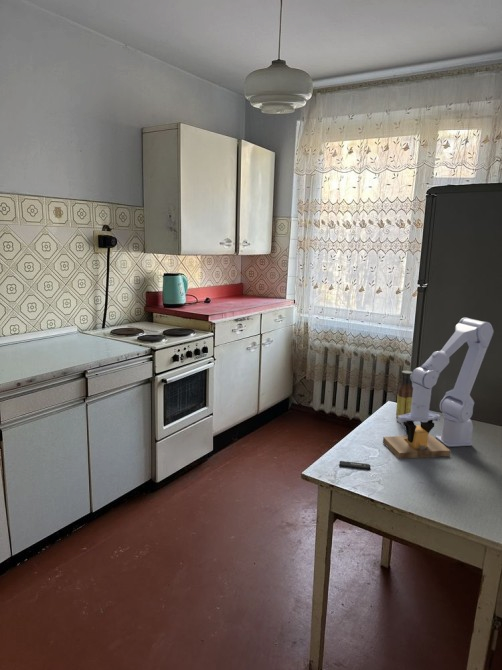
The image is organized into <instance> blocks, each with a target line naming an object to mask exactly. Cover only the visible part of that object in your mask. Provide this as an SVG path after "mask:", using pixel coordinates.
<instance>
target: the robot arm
mask: <svg viewBox="0 0 502 670" xmlns="http://www.w3.org/2000/svg"><path fill="white" fill-rule="evenodd" d="M494 332H495V331H494V328H493V326H492V324H491V323H490V322H488V321H483V320H482V321H481V320H478V319H473V318H469V317H465V316H464V317H462V318H461V319H460V320H459V322H458V323H457V324H456V325H455V327H454V333H453V334H452V335H451V336H450V338H449V339H448V340H447V341H446V343H445V344H444V346H442V349H440V350H437V351H436V350H435V351H433V352H432V354H431V355H430V356H429V358H428V359H426V361H425V362H424V363H422V365H421V366H419V367H416V368H415V369H413V371H411V372H412V375H410V379H411V381H412V387H413V394H412V404H411V412H410V413H408V414H404V415H398V418H396V420H397V422H398V424H399V423H400V424H403V425H404V427H405V431H406V436H407V437H408V441H409V442H410V443H412V442H413V438H414V432H415V429H416V427H417V426H416V425H417V424H415V422H420V426H421V427H422V428H423V429H424V430H426V431H427V432H428V435H430V434H429V433H430V432H431V431H432V429H433V428H434V427H435V423H434V422H435V421H436V422H441V416H443V418H442V427H441V432H440V433H441V434H440V435H436V436H435V438H436V439H437V440H438V441H439V442H441V443H442V444H443V445H444V446H446V447H447V448H449V447H451V448H452V447H467V446H468V447H469V446H471V447H472V446H473V443H472V437H473V431H474V425H473V421H472V419H471V418H472V416H473V412H474V405H475V401H474V399H473V397H472V396H471V392H472V389H473V386H474V384H475V381H476V378H477V376H478V373H479V372H480V371H479V370H480V368H481V365H482V362H483V360H484V357H485V355H486V352H487V350H488V348H489V345H490V342H491V340H492V337H493V335H494ZM465 343H467V346H468V349H467V352H466V355H465V357H464V360H463V363H462V365H461V368H460V371H459V374H458V376H457V378H456V382H455V384H454V387H453V388H452V389H450V390H448V391H446V392H445V394H444V396H443V398H442V399H441V400H440V402H439V410H440V411H441V412H442V414H441V415H440V414H438V413H430V406H431V397H432V389H433V387H434V386H436V384H437V382H438V379H439V377H440V374H441V373H442V371H443V370H444V369H445V368H446V367H447V366H448V365H449V364H450V357H451V356H452V355H453V354H454V353H456V352H457V350H459V348H461V347H462V346H463V345H464V344H465Z"/></svg>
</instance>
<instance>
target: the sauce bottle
mask: <svg viewBox="0 0 502 670" xmlns="http://www.w3.org/2000/svg"><path fill="white" fill-rule="evenodd" d="M412 372H413V371H412V370H401V381H400V382H401V383H400V384H399V385H398V387H397V394H396V395H397V397H396V414H395V415H396V417H395V418H396V419H397V418H398V415H404V414H408V413H410V412H411V404H412V394H413V387H412V381H411V379H410V375H412Z"/></svg>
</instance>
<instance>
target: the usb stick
mask: <svg viewBox="0 0 502 670" xmlns="http://www.w3.org/2000/svg"><path fill="white" fill-rule="evenodd" d="M339 467H341V468H348V469H355V470H363V471H370V470H371V464H369V463H362V462H353V461H345V460H340V461H339Z"/></svg>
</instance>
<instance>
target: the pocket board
mask: <svg viewBox="0 0 502 670" xmlns="http://www.w3.org/2000/svg"><path fill="white" fill-rule="evenodd" d="M382 443H383V445H385V446H386V447H387V448H388V449H389V450H390V451H391V453H393V454H394V455H395V456H396V458H397V459H399V460H400V459H403V460H404V459H417V458H418V459H419V458H420V459H421V458H433V457H436V458H437V457H450V455H451V449H449V447H448V446H446V445H445V444H444V443H442V442H441V441H440V440H439V439H437V438H436V437H434V436H433V435H432V434H428V440H427V448H425V450H419V449H414V448H413V447H412V446H411V445H410V444H408V443H407V435H399V436H398V435H397V436H396V435H395V436H383V438H382Z"/></svg>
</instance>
